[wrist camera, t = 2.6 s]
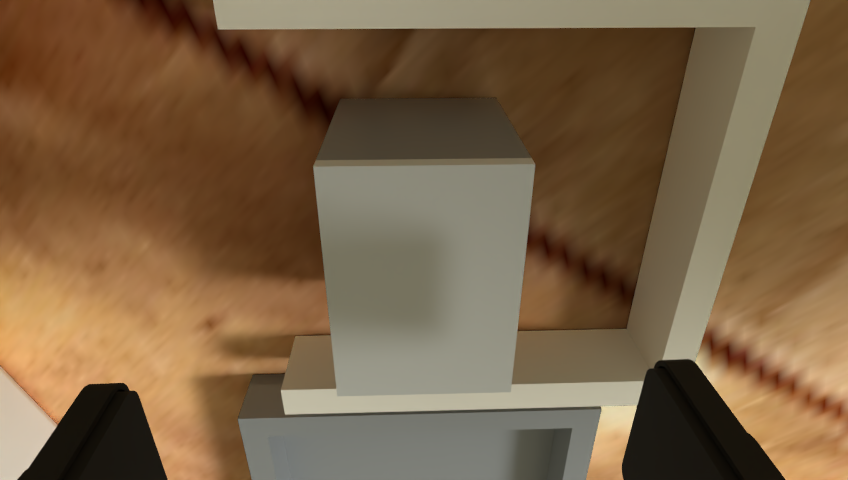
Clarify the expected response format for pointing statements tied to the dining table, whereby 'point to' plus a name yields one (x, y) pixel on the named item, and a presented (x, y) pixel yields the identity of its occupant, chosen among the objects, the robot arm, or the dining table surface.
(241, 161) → the dining table surface
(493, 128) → the gray block
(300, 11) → the bay
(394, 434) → the tray
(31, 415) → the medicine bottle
